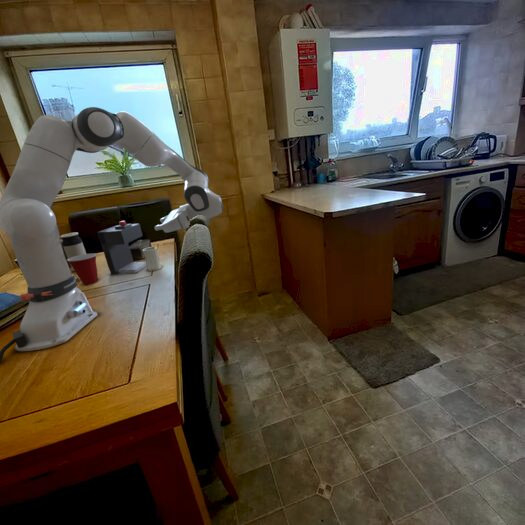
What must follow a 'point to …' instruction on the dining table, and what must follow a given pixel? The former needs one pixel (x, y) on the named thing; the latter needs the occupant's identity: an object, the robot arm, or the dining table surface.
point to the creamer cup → (152, 258)
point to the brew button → (122, 223)
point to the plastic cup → (85, 267)
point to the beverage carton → (139, 248)
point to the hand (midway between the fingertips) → (158, 224)
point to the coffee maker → (120, 248)
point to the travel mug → (72, 245)
